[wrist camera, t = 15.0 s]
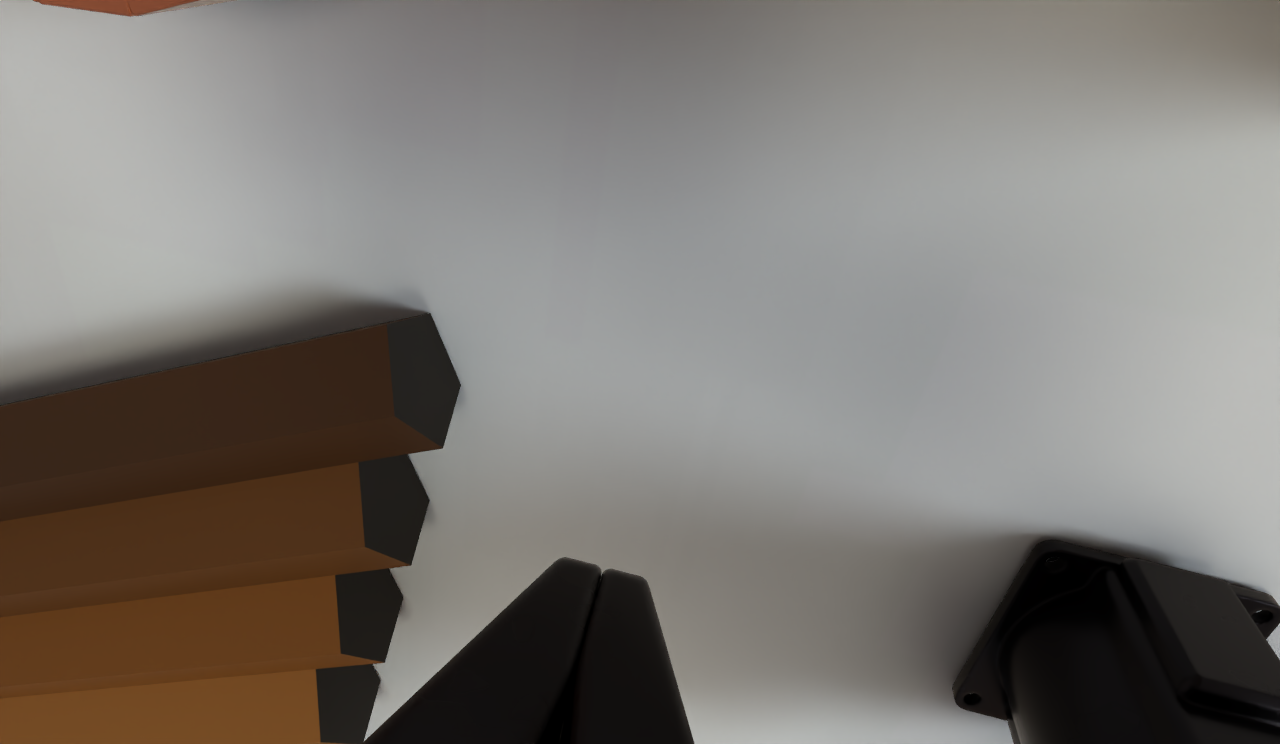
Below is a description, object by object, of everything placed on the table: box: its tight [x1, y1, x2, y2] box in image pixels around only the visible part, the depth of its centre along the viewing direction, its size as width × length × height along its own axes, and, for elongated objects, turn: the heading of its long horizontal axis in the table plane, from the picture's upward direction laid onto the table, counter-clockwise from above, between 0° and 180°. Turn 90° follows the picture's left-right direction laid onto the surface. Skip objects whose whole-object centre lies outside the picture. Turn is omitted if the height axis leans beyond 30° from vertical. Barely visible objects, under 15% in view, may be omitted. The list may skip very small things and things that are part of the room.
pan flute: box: [0, 313, 461, 744], centre depth 29 cm, size 25×3×25 cm
